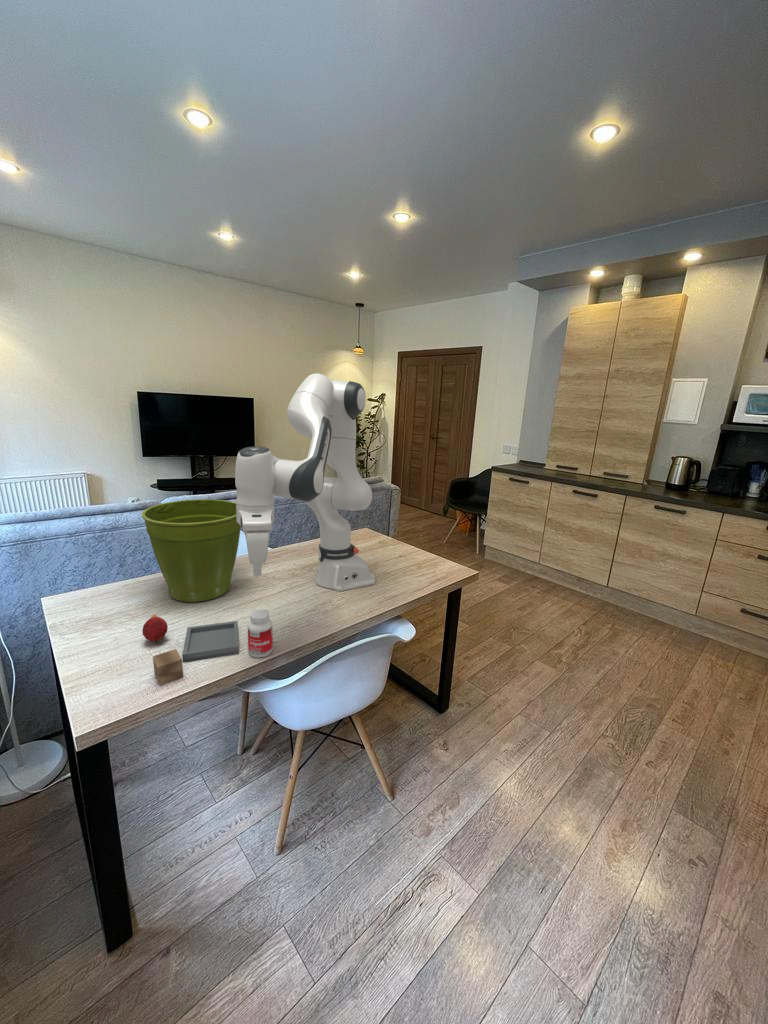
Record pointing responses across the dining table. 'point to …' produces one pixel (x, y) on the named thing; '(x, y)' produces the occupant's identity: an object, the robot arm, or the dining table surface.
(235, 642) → the tray
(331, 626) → the dining table surface
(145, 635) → the red round piece
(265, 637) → the pill bottle
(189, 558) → the plant pot
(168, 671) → the walnut block
